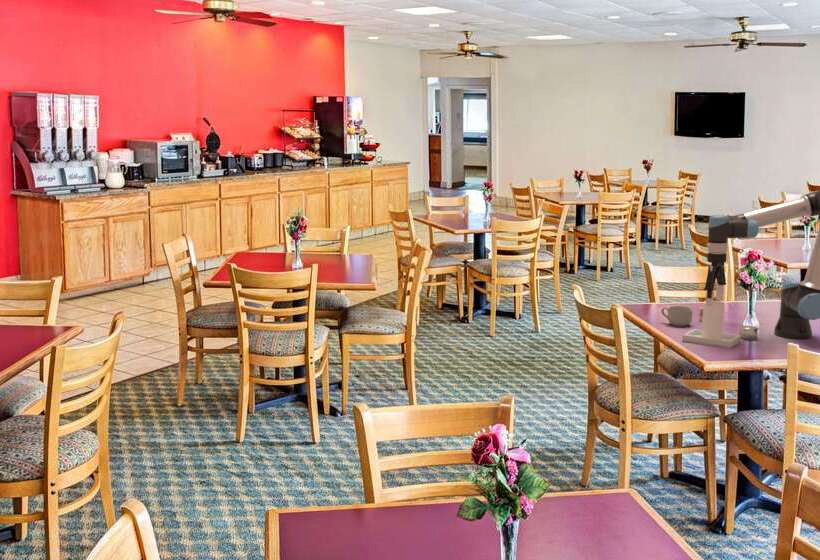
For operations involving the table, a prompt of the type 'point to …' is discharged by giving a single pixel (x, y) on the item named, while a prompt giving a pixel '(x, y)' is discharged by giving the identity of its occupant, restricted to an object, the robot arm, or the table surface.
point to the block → (701, 314)
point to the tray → (696, 338)
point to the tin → (748, 332)
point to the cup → (713, 320)
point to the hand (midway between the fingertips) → (714, 303)
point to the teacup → (678, 315)
